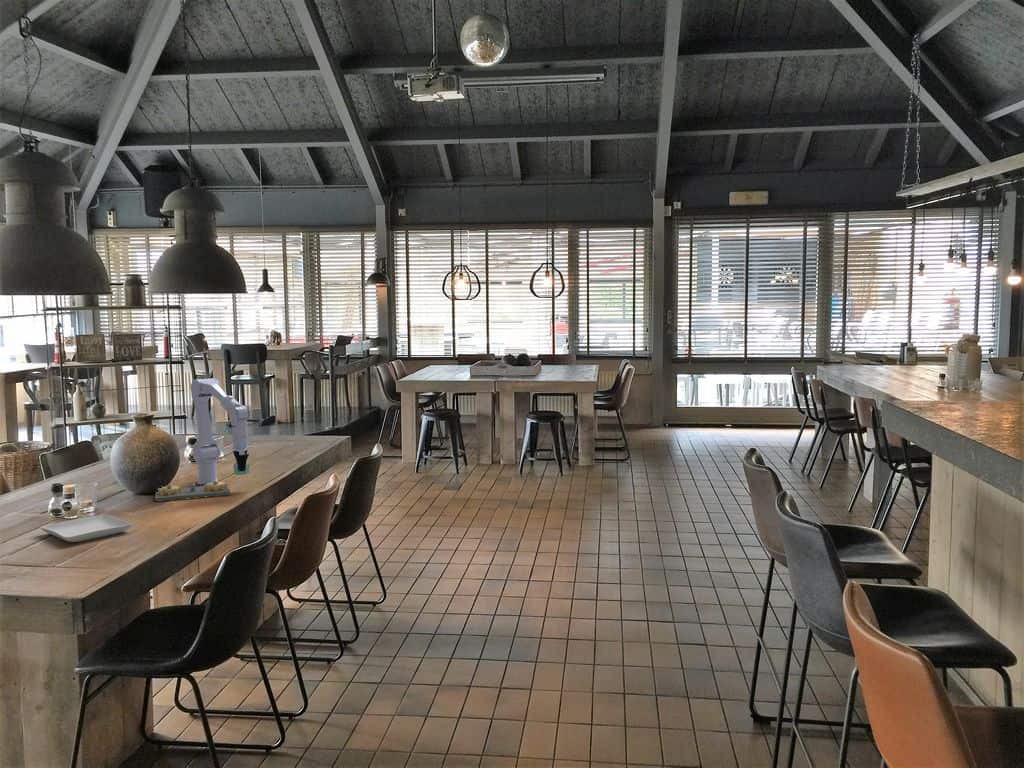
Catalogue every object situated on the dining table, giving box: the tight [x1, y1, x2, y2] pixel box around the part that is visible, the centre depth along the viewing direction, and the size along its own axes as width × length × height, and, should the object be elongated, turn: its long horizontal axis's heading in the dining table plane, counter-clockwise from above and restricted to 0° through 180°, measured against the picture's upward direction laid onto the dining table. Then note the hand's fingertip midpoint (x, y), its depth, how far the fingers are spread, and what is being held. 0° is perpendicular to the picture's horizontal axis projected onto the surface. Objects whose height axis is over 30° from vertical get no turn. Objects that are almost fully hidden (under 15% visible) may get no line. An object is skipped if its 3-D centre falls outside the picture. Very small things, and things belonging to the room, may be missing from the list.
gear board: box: [154, 480, 231, 501], centre depth 317 cm, size 14×27×5 cm, turn 112°
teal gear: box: [233, 461, 250, 476], centre depth 324 cm, size 6×6×4 cm
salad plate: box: [40, 513, 133, 543], centre depth 264 cm, size 21×21×3 cm
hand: (241, 469), depth 324 cm, fingers closed on teal gear, 6 cm apart
